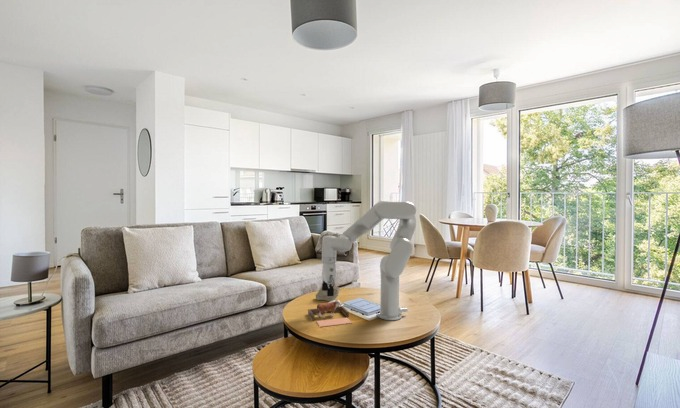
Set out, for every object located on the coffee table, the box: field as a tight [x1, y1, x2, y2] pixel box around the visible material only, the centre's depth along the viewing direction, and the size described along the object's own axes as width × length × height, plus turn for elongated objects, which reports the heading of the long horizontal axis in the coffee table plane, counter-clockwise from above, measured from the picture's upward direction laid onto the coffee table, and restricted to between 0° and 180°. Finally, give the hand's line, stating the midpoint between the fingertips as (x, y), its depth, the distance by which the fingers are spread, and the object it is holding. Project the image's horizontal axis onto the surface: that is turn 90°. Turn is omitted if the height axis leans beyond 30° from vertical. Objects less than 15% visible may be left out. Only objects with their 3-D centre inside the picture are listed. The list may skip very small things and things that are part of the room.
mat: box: [316, 317, 353, 328], centre depth 156 cm, size 16×7×1 cm, turn 108°
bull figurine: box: [316, 299, 343, 319], centre depth 165 cm, size 4×13×8 cm, turn 112°
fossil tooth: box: [315, 283, 341, 302], centre depth 192 cm, size 12×6×15 cm
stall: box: [307, 305, 350, 322], centre depth 166 cm, size 19×10×2 cm, turn 108°
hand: (327, 293), depth 165 cm, fingers open, 9 cm apart
